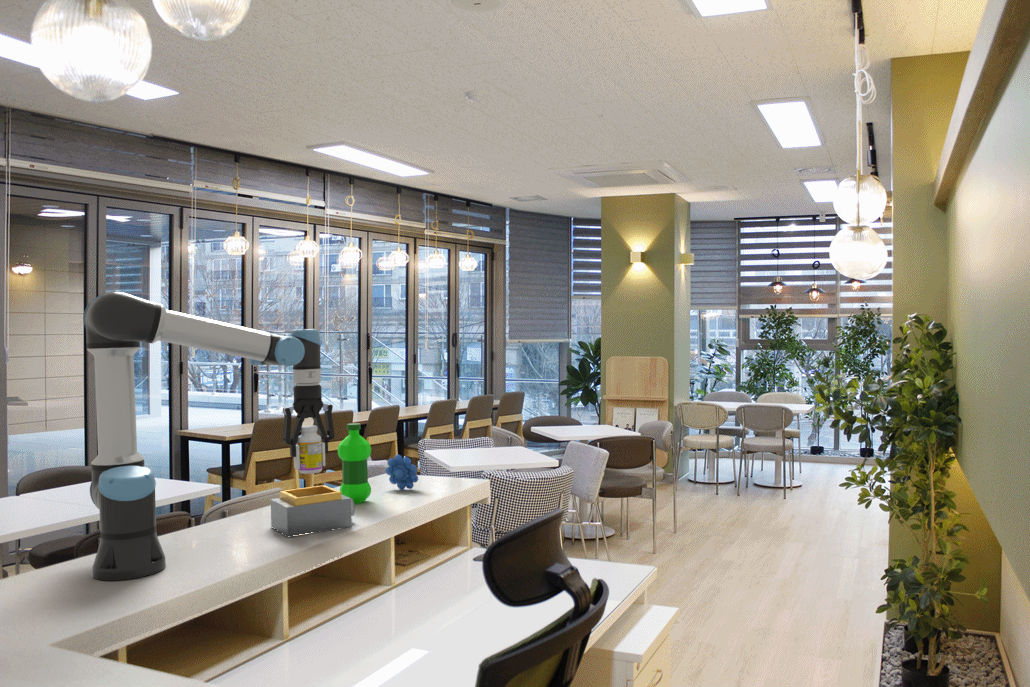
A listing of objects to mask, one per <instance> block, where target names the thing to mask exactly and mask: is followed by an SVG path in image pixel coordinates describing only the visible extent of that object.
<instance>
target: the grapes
mask: <svg viewBox="0 0 1030 687" xmlns="http://www.w3.org/2000/svg"><path fill="white" fill-rule="evenodd" d="M386 462H387V465H388V466H386V468H385V473H386V475H388V476H389V478H388V480H389V482H390V484H392V485H396V487H397V488H398V489H399V490H402V491H403V490H405V489H409V490H412V489H413V488H414V485H415V484H416V483H417V482H418V481H419V476H418V475H417V474H416V473H418V467H417V466H416V465H415V464H412V460H411V458H409V457H408V456H404V457H403V456H402V455H400V454H395V455H394V457H393V458H388V460H387V461H386ZM414 483H415V484H414Z"/></svg>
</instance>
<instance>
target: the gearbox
mask: <svg viewBox="0 0 1030 687" xmlns="http://www.w3.org/2000/svg"><path fill="white" fill-rule="evenodd" d="M355 506H356V504H354V501H353V499H352V498H349V497H347V496H344V495H342V492H340V490H338V489H335V488H332V487H330V486H328V485H325V484H324V485H315V486H314V485H313V486H307V487H302V488H301V487H300V488H294V489H293V488H292V489H286V490H280V491H279V497H278V498H277V497H276V498H270V524H271V527H273V528H275V529H276V530H278V531H279V532H281V533H283V534H284V535H286V536H293V535H299V534H305V533H311V532H319V531H325V532H327V531H326V530H330V531H333V530H332V529H336V530H339V529H338V528H342V529H347V528H346V527H348V528H352V526H353V525H352V523H353V522H352V517H353V516H354V515H355V512H356V507H355ZM273 528H272V529H273ZM276 530H275V531H276ZM278 531H277V532H278ZM279 532H278V533H279ZM281 533H280V534H281ZM319 533H320V532H319ZM283 534H282V535H283ZM284 535H283V536H284ZM286 536H285V537H286Z"/></svg>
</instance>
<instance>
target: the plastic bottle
mask: <svg viewBox="0 0 1030 687" xmlns="http://www.w3.org/2000/svg"><path fill="white" fill-rule="evenodd" d="M361 428H362V427H361V423H360V422H359V423H358V422H356V423H352V422H351V423H347V424H346V431H348V435H346V436H345V438H344V439H343V440H342V441H341V442H339V443H338V447H337V455H338V458H339V459H340V460H341V468H342V470H341V473H342V475H341V476H342V483H341V485H340V487H339V491H340V492H342V495H344V496H347V497H349V498H352V499H353V501H354V504H355V505H357V503H359V504H363V503H365V502H366V500H367V499H368V498H369V497H370V496H371V493H372V488H371V485H370V482H369V478H368V474H369V473H368V471H369V470H368V459H369V457H370V456H371V454H372V447H371V443H370V442H369V441H368V440H366V439H365V437H363V436H362V435H360V430H361ZM362 502H363V503H362Z"/></svg>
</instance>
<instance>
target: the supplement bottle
mask: <svg viewBox="0 0 1030 687" xmlns="http://www.w3.org/2000/svg"><path fill="white" fill-rule="evenodd" d="M321 442H322V440H321V436H320V435H319V433H318V428H317V426H316V425H315V424H313V425H302V427H301V430H300V434H299V437H298V440H297V444H296V445H299V454H300V469H297V473H299V474H302V475H311V474H312V475H313V474H318V473H321V472H322V470H323V466H322V443H321Z"/></svg>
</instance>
